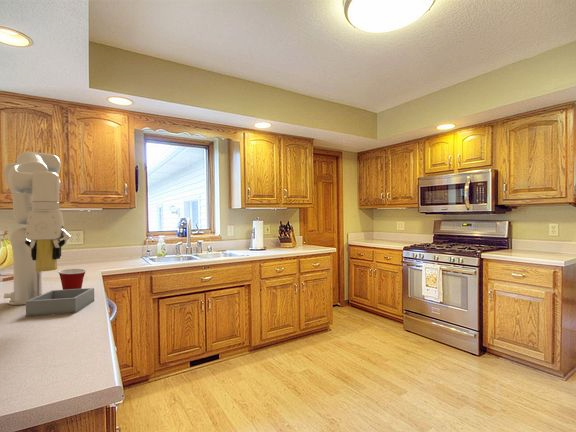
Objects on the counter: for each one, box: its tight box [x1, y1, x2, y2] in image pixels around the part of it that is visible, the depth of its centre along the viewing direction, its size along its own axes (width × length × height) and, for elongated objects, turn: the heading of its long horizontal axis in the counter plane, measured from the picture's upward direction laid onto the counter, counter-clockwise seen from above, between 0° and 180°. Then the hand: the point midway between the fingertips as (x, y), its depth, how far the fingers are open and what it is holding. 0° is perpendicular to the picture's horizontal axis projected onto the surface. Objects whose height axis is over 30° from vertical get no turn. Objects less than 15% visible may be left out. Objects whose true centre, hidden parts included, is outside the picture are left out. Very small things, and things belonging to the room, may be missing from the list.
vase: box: [35, 240, 58, 272], centre depth 109 cm, size 6×6×14 cm
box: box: [25, 287, 95, 317], centre depth 124 cm, size 16×18×6 cm
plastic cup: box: [57, 268, 87, 290], centre depth 143 cm, size 11×11×12 cm
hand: (46, 258), depth 109 cm, fingers closed on vase, 5 cm apart
